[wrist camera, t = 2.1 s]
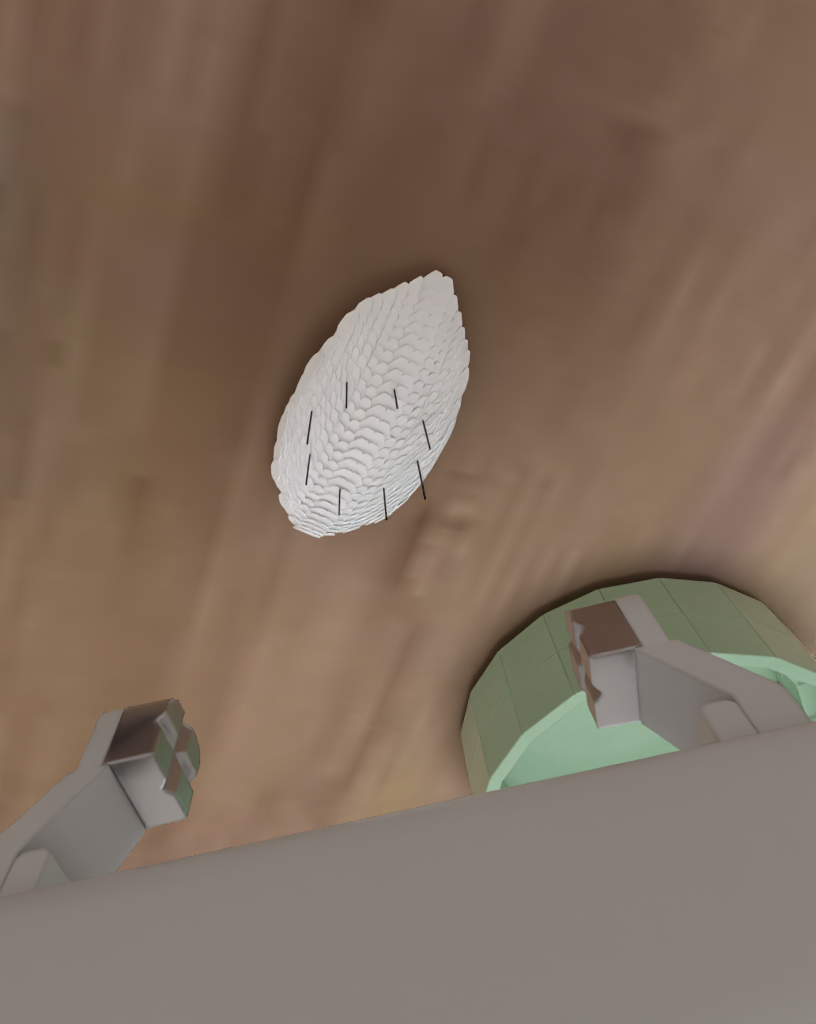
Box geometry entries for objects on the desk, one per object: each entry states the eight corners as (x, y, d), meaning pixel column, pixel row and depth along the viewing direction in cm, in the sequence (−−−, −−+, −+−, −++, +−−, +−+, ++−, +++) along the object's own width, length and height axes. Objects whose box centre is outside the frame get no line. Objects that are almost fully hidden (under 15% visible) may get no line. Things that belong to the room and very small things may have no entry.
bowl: (812, 540, 33) (900, 618, 28) (784, 799, 41) (848, 897, 36) (436, 609, 33) (453, 700, 28) (483, 853, 42) (502, 958, 36)
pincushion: (368, 229, 25) (372, 253, 20) (512, 310, 27) (548, 351, 22) (237, 500, 30) (214, 573, 25) (367, 555, 32) (370, 634, 27)
